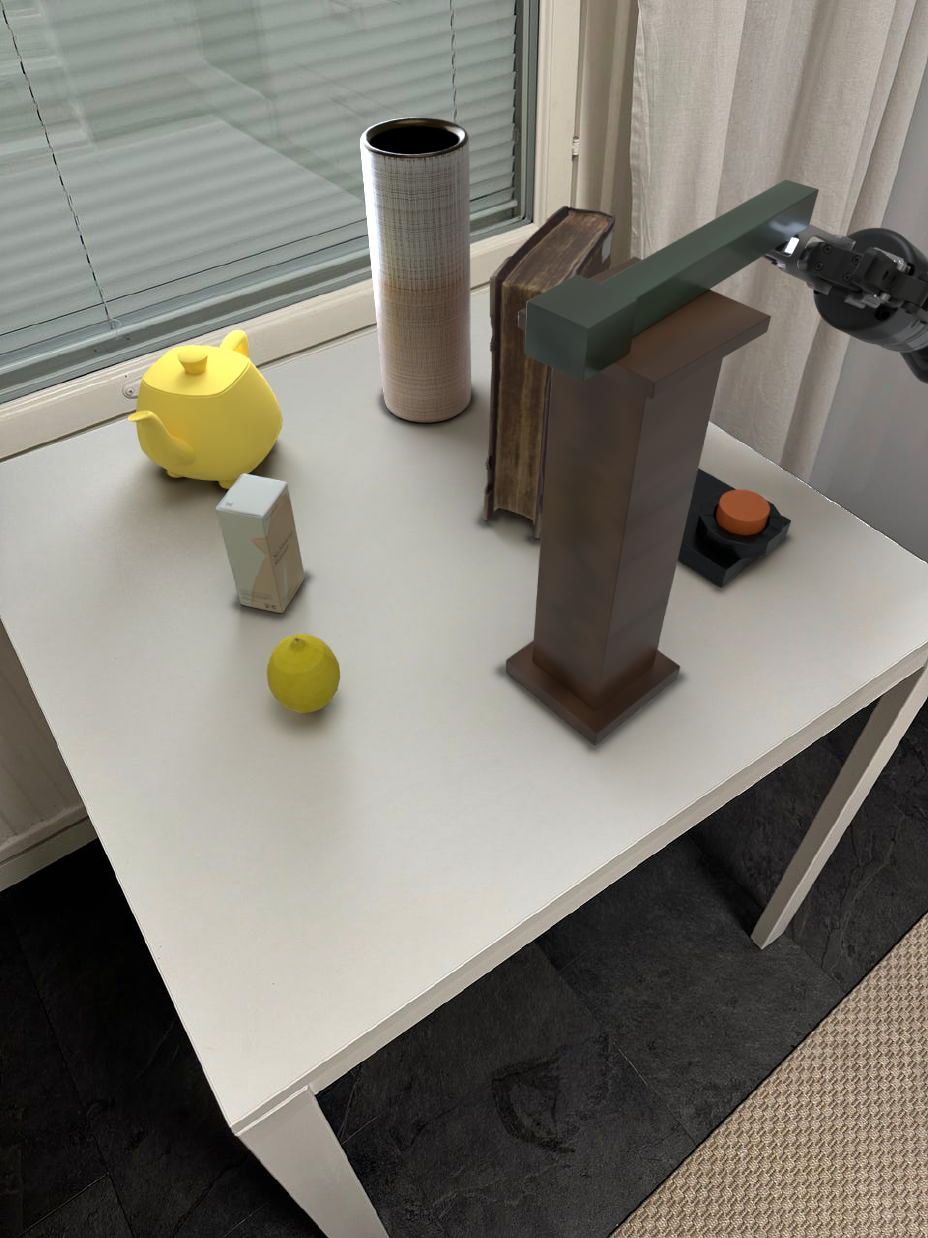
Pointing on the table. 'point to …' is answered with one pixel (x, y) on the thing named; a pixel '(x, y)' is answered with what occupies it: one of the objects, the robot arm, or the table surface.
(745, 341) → the pedestal
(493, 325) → the book
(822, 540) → the table surface
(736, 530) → the button
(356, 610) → the table surface
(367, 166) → the vase
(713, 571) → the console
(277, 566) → the box
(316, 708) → the fruit
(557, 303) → the rod
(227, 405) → the teapot
